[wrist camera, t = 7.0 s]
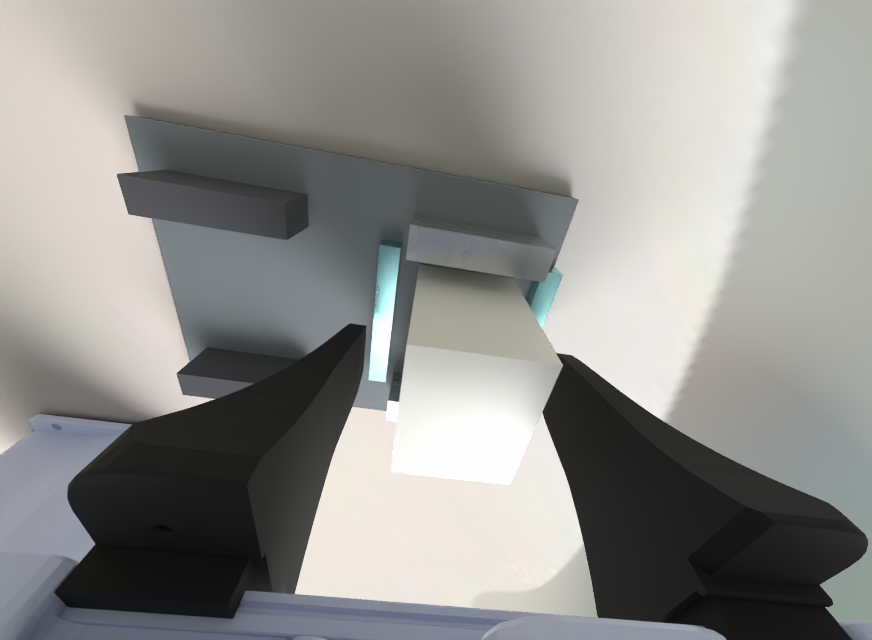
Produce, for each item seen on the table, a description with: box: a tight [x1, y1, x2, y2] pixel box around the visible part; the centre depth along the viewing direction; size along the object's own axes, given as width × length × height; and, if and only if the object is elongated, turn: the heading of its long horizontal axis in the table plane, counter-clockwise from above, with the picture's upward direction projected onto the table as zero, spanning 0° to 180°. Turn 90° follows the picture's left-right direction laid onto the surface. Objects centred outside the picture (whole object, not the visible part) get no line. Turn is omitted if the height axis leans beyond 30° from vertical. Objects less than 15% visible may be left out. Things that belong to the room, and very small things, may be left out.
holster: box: [117, 170, 309, 399], centre depth 13 cm, size 5×9×2 cm, turn 171°
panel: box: [124, 115, 578, 411], centre depth 14 cm, size 16×12×1 cm
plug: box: [390, 264, 563, 485], centre depth 12 cm, size 4×5×6 cm
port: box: [369, 213, 563, 421], centre depth 13 cm, size 7×9×2 cm
